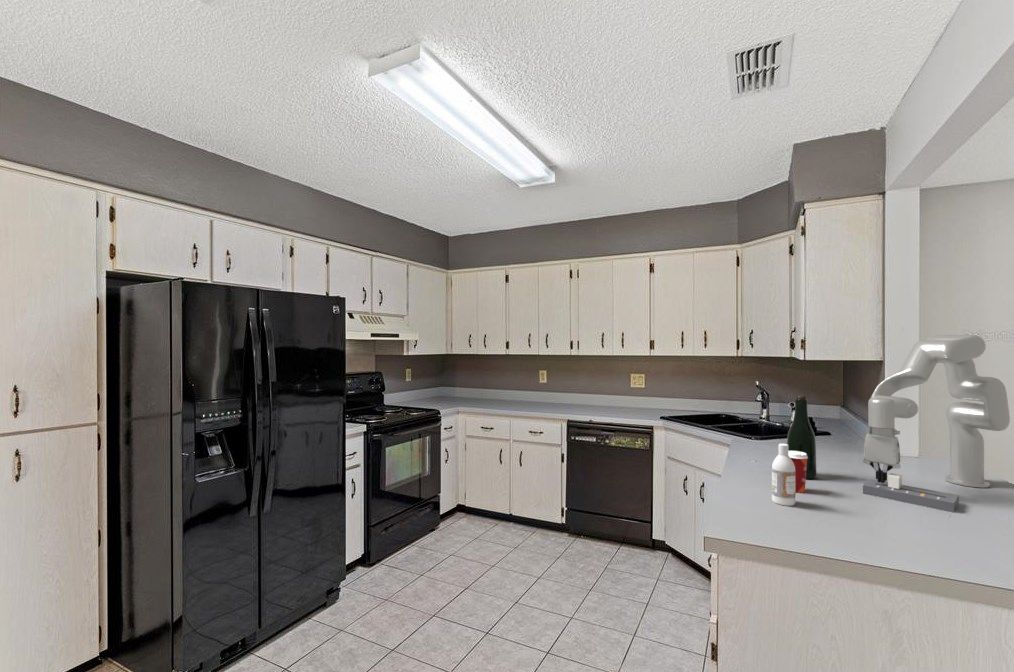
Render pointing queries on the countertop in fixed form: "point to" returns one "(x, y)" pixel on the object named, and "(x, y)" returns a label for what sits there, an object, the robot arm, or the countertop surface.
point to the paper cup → (799, 469)
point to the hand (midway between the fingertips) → (881, 481)
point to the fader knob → (894, 480)
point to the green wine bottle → (803, 436)
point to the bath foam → (783, 478)
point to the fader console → (913, 495)
